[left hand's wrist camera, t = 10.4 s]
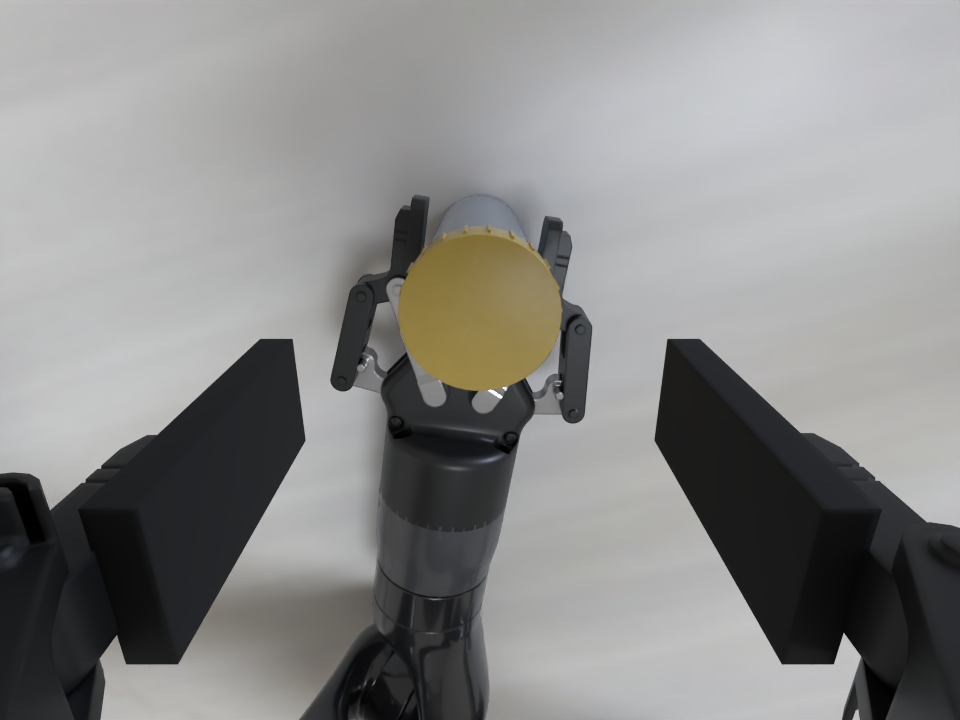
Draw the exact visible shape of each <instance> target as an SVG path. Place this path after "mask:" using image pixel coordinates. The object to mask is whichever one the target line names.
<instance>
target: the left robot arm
mask: <svg viewBox="0 0 960 720" xmlns="http://www.w3.org/2000/svg"><path fill="white" fill-rule="evenodd" d="M304 442H305V433H304V425H303V417H302V409H301V401H300V394H299V386H298V378H297V370H296V363H295V355H294V347H293V339H260V340H259V341H258V342H257V343H256V344H254V345H253V346H252V347H251V348H250V349H249V350H248V351H247V352H246V353H245V354H244V355H243V356H242V357H241V358H239V359H238V360H237V361H236V362H235V363H234V364H233V365H232V366H231V367H230V368H229V369H228V370H227V371H226V372H224V373H223V374H222V375H221V376H220V377H219V378H218V379H217V380H216V381H215V382H214V383H213V384H212V385H211V386H209V387H208V388H207V389H206V390H205V391H204V392H203V393H202V394H201V395H200V396H199V397H198V398H197V399H195V400H194V401H193V402H192V403H191V404H190V405H189V406H188V407H187V408H186V409H185V410H184V411H183V412H182V413H180V414H179V415H178V416H177V417H176V418H175V419H174V420H173V421H172V422H171V423H170V424H169V425H168V426H167V427H165V428H164V429H163V430H162V431H161V432H160V433H159V434H158V435H147V436H145V437H143V438H141V439H139V440H137V441H135V442H133V443H131V444H129V445H127V446H125V447H124V448H122V449H120V450H119V451H118V452H116V453H115V454H114V455H113V456H112V457H111V458H110V459H108V460H107V461H106V462H105V463H104V464H103V465H102V466H101V469H97V470H96V471H95V472H94V473H92V474H91V475H90V476H89V477H88V478H87V479H86V482H85V483H81V484H80V485H79V486H78V487H77V488H75V489H74V490H73V491H72V492H71V493H70V494H69V495H67V496H66V497H65V498H64V499H63V500H62V501H61V502H59V503H58V504H57V505H56V506H55V507H54V508H53V509H51V510H49V507H48V504H47V501H46V498H45V495H44V492H43V489H42V486H41V483H40V480H39V479H38V478H36V477H34V476H32V475H31V474H24V473H5V474H0V720H100V718H101V711H102V703H103V696H104V688H105V678H104V672H103V668H102V665H101V662H100V657H101V656H102V654H103V653H104V652H105V650H106V649H107V648H108V646H109V645H110V643H111V642H112V641H113V639H114V638H115V636H116V635H117V636H118V639H119V643H120V646H121V649H122V652H123V656H124V659H125V662H126V664H178V663H179V662H180V660H181V658H182V656H183V655H184V653H185V651H186V649H187V648H188V646H189V644H190V642H191V640H192V639H193V637H194V635H195V633H196V632H197V630H198V628H199V626H200V625H201V623H202V621H203V619H204V618H205V616H206V614H207V612H208V611H209V609H210V607H211V605H212V604H213V602H214V600H215V598H216V597H217V595H218V593H219V591H220V590H221V588H222V586H223V584H224V583H225V581H226V579H227V577H228V576H229V574H230V572H231V570H232V569H233V567H234V565H235V563H236V562H237V560H238V558H239V556H240V554H241V553H242V551H243V549H244V547H245V546H246V544H247V542H248V540H249V539H250V537H251V535H252V533H253V532H254V530H255V528H256V526H257V525H258V523H259V521H260V519H261V518H262V516H263V514H264V512H265V511H266V509H267V507H268V505H269V504H270V502H271V500H272V498H273V497H274V495H275V493H276V491H277V490H278V488H279V486H280V484H281V483H282V481H283V479H284V477H285V476H286V474H287V472H288V470H289V468H290V467H291V465H292V463H293V461H294V460H295V458H296V456H297V454H298V453H299V451H300V449H301V447H302V446H303V444H304ZM655 442H656V444H657V446H658V447H659V449H660V451H661V453H662V454H663V456H664V458H665V460H666V461H667V463H668V465H669V467H670V469H671V470H672V472H673V474H674V476H675V477H676V479H677V481H678V483H679V484H680V486H681V488H682V490H683V491H684V493H685V495H686V497H687V498H688V500H689V502H690V504H691V505H692V507H693V509H694V511H695V512H696V514H697V516H698V518H699V519H700V521H701V523H702V525H703V526H704V528H705V530H706V532H707V533H708V535H709V537H710V539H711V540H712V542H713V544H714V546H715V547H716V549H717V551H718V553H719V555H720V556H721V558H722V560H723V562H724V563H725V565H726V567H727V569H728V570H729V572H730V574H731V576H732V577H733V579H734V581H735V583H736V584H737V586H738V588H739V590H740V591H741V593H742V595H743V597H744V598H745V600H746V602H747V604H748V605H749V607H750V609H751V611H752V612H753V614H754V616H755V618H756V619H757V621H758V623H759V625H760V626H761V628H762V630H763V632H764V633H765V635H766V637H767V639H768V641H769V642H770V644H771V646H772V648H773V649H774V651H775V653H776V655H777V656H778V658H779V660H780V662H781V663H782V664H834V662H835V659H836V655H837V652H838V649H839V646H840V643H841V639H842V636H843V633H845V635H846V636H847V638H848V639H849V640H850V642H851V643H852V644H853V646H854V647H855V648H856V650H857V651H858V653H859V654H860V655H861V659H860V662H859V665H858V668H857V671H856V674H855V677H854V680H853V683H852V686H851V689H850V692H849V695H848V698H847V701H846V704H845V707H844V712H843V718H842V720H852V719H853V716H854V713H855V710H857V709H859V716H860V720H960V528H958V527H955V526H952V525H945V524H938V523H931V522H928V523H927V522H926V521H925V520H923V519H922V518H921V517H920V516H919V515H918V514H917V513H915V512H914V511H913V510H912V509H911V508H910V507H909V506H907V505H906V504H905V503H904V502H903V501H902V500H900V499H899V498H898V497H897V496H896V495H895V494H894V493H892V492H891V491H890V490H889V489H888V488H887V487H886V486H884V485H883V484H882V483H881V482H880V481H875V477H874V476H873V475H872V474H871V473H869V472H868V471H867V470H866V469H865V468H864V467H859V463H858V462H857V461H856V460H854V459H853V458H852V457H851V456H850V455H849V454H848V453H846V452H845V451H844V450H843V449H842V448H841V447H839V446H837V445H835V444H833V443H831V442H829V441H827V440H825V439H823V438H822V437H820V436H818V435H816V434H814V433H800V432H799V431H798V430H797V429H796V428H795V427H793V426H792V425H791V424H790V423H789V422H788V421H787V420H786V419H785V418H784V417H783V416H782V415H781V414H780V413H778V412H777V411H776V410H775V409H774V408H773V407H772V406H771V405H770V404H769V403H768V402H767V401H766V400H764V399H763V398H762V397H761V396H760V395H759V394H758V393H757V392H756V391H755V390H754V389H753V388H752V387H751V386H749V385H748V384H747V383H746V382H745V381H744V380H743V379H742V378H741V377H740V376H739V375H738V374H737V373H736V372H734V371H733V370H732V369H731V368H730V367H729V366H728V365H727V364H726V363H725V362H724V361H723V360H722V359H721V358H719V357H718V356H717V355H716V354H715V353H714V352H713V351H712V350H711V349H710V348H709V347H708V346H707V345H706V344H704V343H703V342H702V341H701V340H700V339H667V347H666V355H665V363H664V370H663V378H662V386H661V394H660V401H659V409H658V417H657V425H656V433H655Z"/></svg>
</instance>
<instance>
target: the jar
mask: <svg viewBox="0 0 960 720" xmlns="http://www.w3.org/2000/svg"><path fill="white" fill-rule="evenodd" d="M488 224H489V225H491V227H495V228H499V229H502V230H506V231H508V232H510V230H512V231H513V233H514V234H515V235H517V236H518V237H520V238H522V239H523V240H525V241H526V242H527V240H526V237H525V235H524V233H523V231H522V228H521V226H520V224H519V221H518V219H517V217H516V215H515V214H514V212H513V211H512V210H511V209H510V208H509V207H508V205H506V204H505V203H504V202H502V201H501V200H499V199H497V198H494V197H491V196H487V195H473V196H469V197H465V198H463V199H461V200H459V201H458V202H456V203H455V204H454V205H452V206H451V207H450V208H449V209H448V211H447V212H446V213H445V215H444V217H443V219H442V221H441V223H440V225H439V228H438V230H437V232H436V234H435V237H434V239H433V241H435V240H436V239H438V238H439V237H441V236H442V233H444V232H445V233H446V234H447V233H449V232H451V231H454V230H457V229H461V228H464V225H467V226H468V227H472V226H487V225H488ZM433 241H432V242H433ZM527 243H528V242H527Z"/></svg>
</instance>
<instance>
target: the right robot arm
mask: <svg viewBox="0 0 960 720" xmlns="http://www.w3.org/2000/svg"><path fill="white" fill-rule="evenodd" d="M428 207H429V197H426V196H420V195H415V196H414V197H413V198H412V201H411V206H405V205H404V206H403V207H402V208H401V209H400V211H399V213H398V215H397V217H396V219H395V228H394V240H393V249H392V259H391V268H390V270H389V271H387V272H385V273H381V274H376V275H373V274H365V275H363V276H362V277H361V278H360V279H359V281H358V283H357V284H356V285H355V286H354V287H353V288H352V289H351V291H350V293H349V298H348V302H347V307H346V311H345V316H344V320H343V325H342V329H341V334H340V338H339V343H338V347H337V352H336V356H335V361H334V365H333V370H332V374H331V384H332V386H333V387H334V388H335V389H336V390H338V391H347V390H349V389H351V387H352V386H356V387H359V388H363V389H367V390H371V391H374V392H378V393H381V397H382V399H383V401H384V403H385V406H386V409H387V426H386V436H385V445H384V455H383V465H382V474H381V484H380V491H379V504H378V513H377V542H378V553H377V562H376V571H375V580H374V590H373V616H374V621H375V623H373V624H372V625H370V626H369V627H367V628H366V629H365V630H364V631H363V632H362V633H361V634H360V635H359V636H358V637H357V638H356V640H355V641H354V642H353V644H352V645H351V647H350V648H349V650H348V651H347V653H346V654H345V656H344V657H343V659H342V661H341V662H340V664H339V665H338V667H337V668H336V670H335V671H334V673H333V674H332V676H331V677H330V679H329V680H328V682H327V683H326V684H325V686H324V687H323V689H322V690H321V691H320V693H319V694H318V695H317V697H316V698H315V699H314V701H313V702H312V703H311V705H310V706H309V707H308V708H307V710H306V711H305V712H304V714H303V715H302V716H301V718H300V719H299V720H485V718H486V714H487V708H488V702H489V675H488V665H487V657H486V650H485V643H484V635H483V626H482V620H481V615H480V610H481V604H482V600H483V595H484V590H485V585H486V580H487V575H488V570H489V566H490V562H491V559H492V557H493V554H494V552H495V549H496V546H497V544H498V540H499V536H500V531H501V526H502V521H503V517H504V512H505V507H506V502H507V497H508V492H509V487H510V482H511V477H512V472H513V467H514V462H515V457H516V452H517V448H518V443H519V438H520V434H521V431H522V429H523V428H524V426H525V425H526V423H527V422H528V421H529V420H530V419H531V418H532V416H533V414H561V415H562V416H563V418H564V420H565V421H566V422H568V423H578V422H579V421H581V420H582V419H583V417H584V414H585V404H586V393H587V381H588V370H589V359H590V348H591V337H592V325H591V323H590V321H589V320H588V318H587V316H586V314H585V313H584V311H583V309H582V308H581V307H580V306H578V305H573V304H571V303H569V302H567V301H565V300H564V299H563V298H562V292H563V288H564V283H565V278H566V273H567V269H568V264H569V258H570V255H571V250H572V243H571V237H570V235H569V234H568V233H567V232H566V231H562V229H563V222H562V220H561V219H560V218H556V217H550V216H545V218H544V222H543V227H542V232H541V237H540V243H539V248H538V253H539V254H540V256H541V257H542V258H543V260H544V259H546V260H547V262H548V264H549V266H550V269H549V270H550V272H551V274H552V276H553V278H554V279H555V280H556V282H557V283H558V285H559V288H560V290H558V291H559V295H560V299H561V307H562V315H561V325H560V330H561V339H560V353H559V368H558V374H553V375H550V376H549V377H548V378H547V379H546V382H545V385H544V387H543V389H542V390H540V391H538V392H534V393H533V392H532V390H531V388H530V386H529V384H528V382H527V380H526V378H524V379H522V380H520V381H518V382H517V383H514V384H512V385H509V386H507V387H503V388H499V389H495V390H488V391H472V390H465V389H460V388H456V387H453V386H450V385H448V384H445V383H443V382H441V381H439V380H437V379H436V378H434V377H433V376H431V375H430V374H428V373H427V372H426V371H425V370H424V369H423V368H422V367H421V366H420V365H419V364H418V363H417V362H416V361H415V360H414V358H413V357H412V355H411V354H410V352H409V351H408V349H407V347H406V345H405V343H404V341H403V338H402V335H401V332H400V327H399V332H400V335H401V338H402V341H403V344H404V346H405V349H406V353H405V354H404V355H403V356H402V357H401V358H400V359H399V360H398V361H397V362H396V363H395V364H394V365H393V366H392V367H391V368H390V369H389V370H388V371H387V372H385V371H383V370H382V369H381V368H380V367H379V366H378V362H377V360H378V356H377V353H376V352H375V350H373V349H372V348H370V347H367V344H368V340H369V336H370V331H371V327H372V323H373V319H374V315H375V311H376V307H377V304H378V303H384V302H389V301H390V303H391V305H392V308H393V310H394V313H395V316H396V318H397V321H398V315H397V314H398V304H399V298H400V294H399V291H400V289H401V287H402V285H403V283H404V282H405V280H406V278H407V276H408V274H409V273H407V270H408V268H409V266H410V265H411V263H414V262H415V261H416V259H417V258H418V257H419V255H420V254H421V252H422V250H423V248H424V242H425V233H426V225H427V216H428ZM398 325H399V321H398Z"/></svg>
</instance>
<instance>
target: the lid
mask: <svg viewBox="0 0 960 720" xmlns="http://www.w3.org/2000/svg"><path fill="white" fill-rule="evenodd" d="M549 269H550V266H549V264H548V262H547V260H546V259H544V260H543V258H542V257H541V256H540V254H539V253H538V252H537V251H536V250H535V248H534V246H533V244H532V243H531V242H529V243H527V242H526V241H525V240H523V239H522V238H520V237H518V236H517V235H515V234H514V233H513V231H512V230H510V232H508V231H506V230H502V229H499V228H495V227H491V225H489V224H488V225H487V226H472V227H468V226H467V225H464V228H461V229H457V230H454V231H451V232H449V233H447V234H446V233H445V232H444V233H442V236H441V237H439V238H438V239H436V240H435V241H433V242H432V243H431V244H430V245H429V246H427V245H425V246H424V248H423V250H422V252H421V254H420V255H419V257H418V258H417V259H416V261H415V262H414V263H411V265H410V266H409V268H408V270H407V273H409V274H408V276H407V278H406V280H405V282H404V283H403V285H402V287H401V289H400V291H399V294H400V298H399V304H398V314H397V315H398V321H399V327H400V332H401V335H402V338H403V341H404V343H405V345H406V347H407V349H408V351H409V352H410V354H411V355H412V357H413V358H414V360H415V361H416V362H417V363H418V364H419V365H420V366H421V367H422V368H423V369H424V370H425V371H426V372H427V373H428V374H430V375H431V376H433V377H434V378H436V379H437V380H439V381H441V382H443V383H445V384H448V385H450V386H453V387H456V388H460V389H465V390H472V391H488V390H495V389H499V388H503V387H507V386H509V385H512V384H514V383H517V382H518V381H520V380H522V379H524V378H525V377H527V376H528V375H530V374H531V373H532V372H534V371H535V370H536V369H537V368H538V367H539V366H540V365H541V364H542V363H543V362H544V360H545V359H546V358H547V356H548V355H549V353H550V352H551V350H552V348H553V346H554V344H555V342H556V340H557V337H558V334H559V330H560V325H561V315H562V307H561V299H560V295H559V291H558V290H560V288H559V285H558V283H557V282H556V280H555V279H554V278H553V276H552V274H551V272H550V270H549Z"/></svg>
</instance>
